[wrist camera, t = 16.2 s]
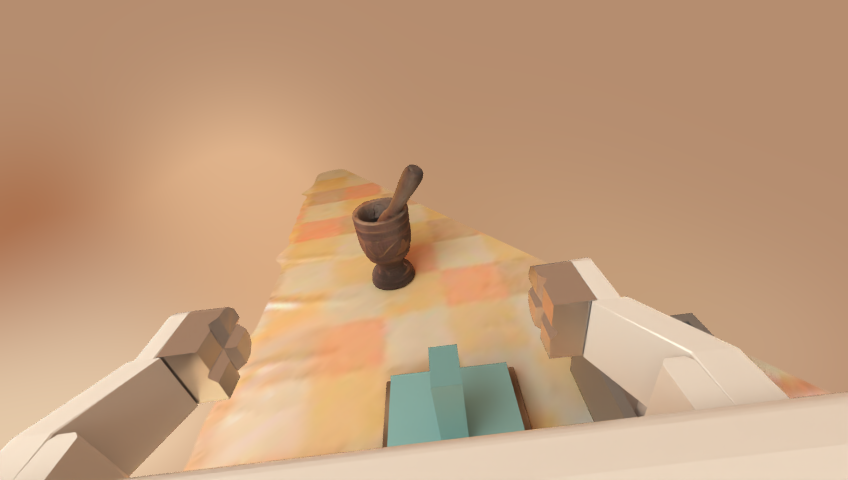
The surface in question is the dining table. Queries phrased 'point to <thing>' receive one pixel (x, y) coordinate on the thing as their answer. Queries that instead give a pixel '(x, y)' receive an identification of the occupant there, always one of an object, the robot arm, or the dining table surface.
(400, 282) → the mortar and pestle
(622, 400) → the tub
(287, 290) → the dining table surface
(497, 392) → the lid
